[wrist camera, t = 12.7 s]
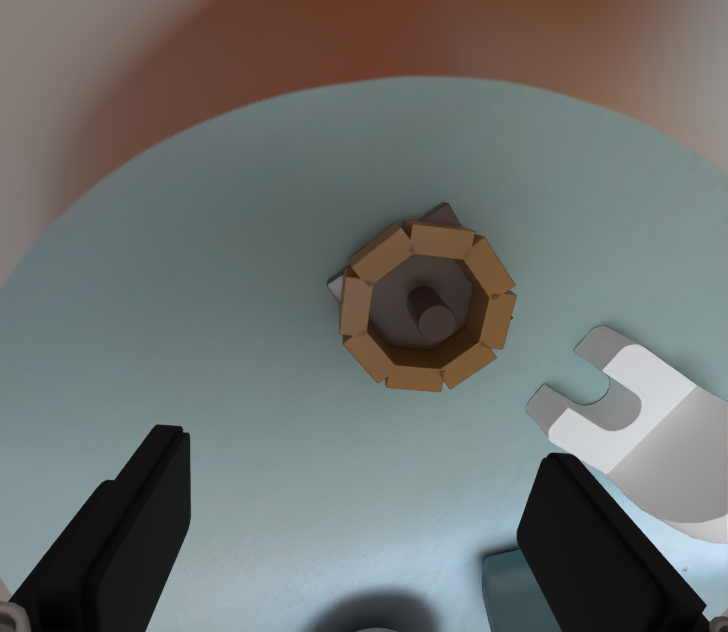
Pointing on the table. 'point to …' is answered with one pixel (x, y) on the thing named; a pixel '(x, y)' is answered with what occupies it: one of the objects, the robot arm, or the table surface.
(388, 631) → the dish
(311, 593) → the table surface
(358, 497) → the table surface
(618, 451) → the white slotted bracket
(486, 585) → the flower pot
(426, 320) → the peg stand
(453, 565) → the table surface
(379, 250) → the segmented block ring
